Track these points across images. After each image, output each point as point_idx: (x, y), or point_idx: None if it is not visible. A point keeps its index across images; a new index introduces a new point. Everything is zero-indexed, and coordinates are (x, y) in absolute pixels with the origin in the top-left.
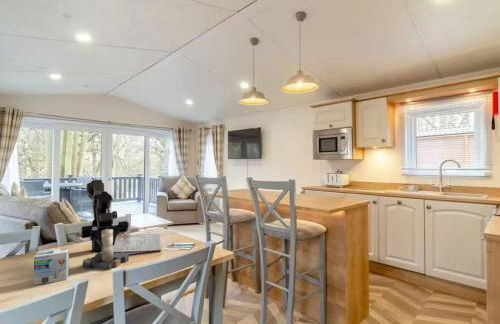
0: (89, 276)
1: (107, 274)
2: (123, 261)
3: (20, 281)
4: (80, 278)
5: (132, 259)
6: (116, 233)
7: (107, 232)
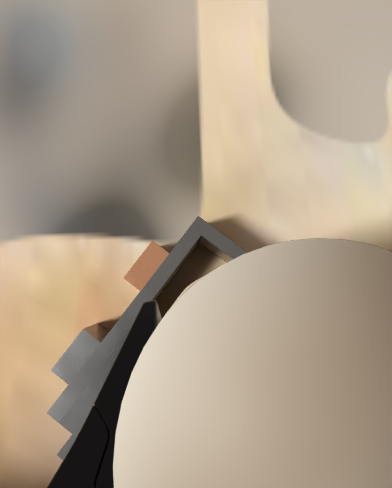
0: (298, 168)
1: (205, 153)
2: (106, 332)
3: None
4: (340, 160)
5: (42, 369)
6: (55, 484)
7: (294, 242)
